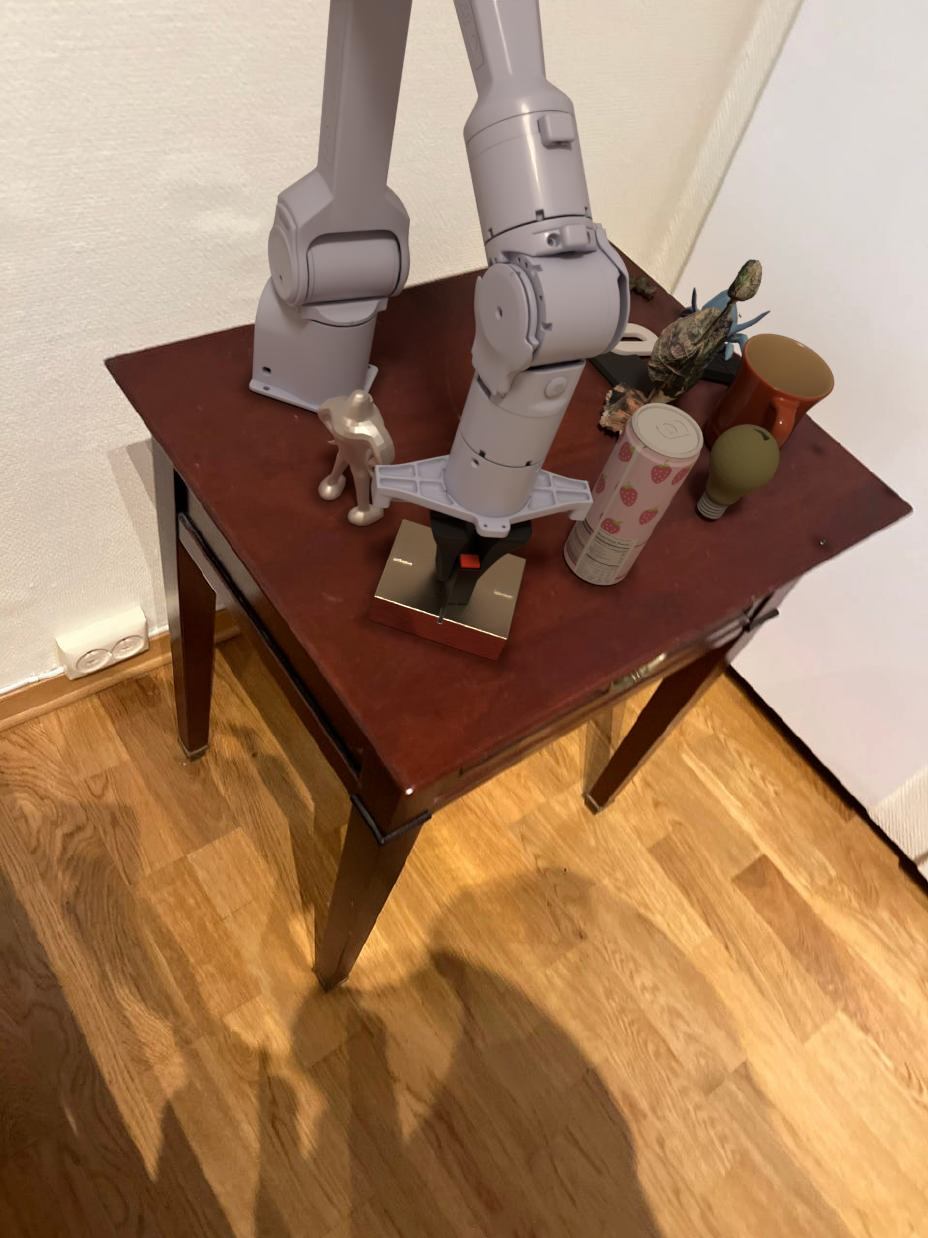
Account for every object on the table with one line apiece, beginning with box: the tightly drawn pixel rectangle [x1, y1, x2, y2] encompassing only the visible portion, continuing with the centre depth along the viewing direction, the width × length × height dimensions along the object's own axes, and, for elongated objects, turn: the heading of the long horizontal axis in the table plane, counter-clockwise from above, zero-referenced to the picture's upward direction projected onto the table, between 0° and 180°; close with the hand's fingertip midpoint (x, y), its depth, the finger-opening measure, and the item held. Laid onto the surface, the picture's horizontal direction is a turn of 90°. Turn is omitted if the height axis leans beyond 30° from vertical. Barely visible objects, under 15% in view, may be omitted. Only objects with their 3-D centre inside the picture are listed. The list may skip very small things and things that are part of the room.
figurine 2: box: [676, 287, 772, 385], centre depth 92 cm, size 10×12×8 cm
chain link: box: [611, 322, 659, 357], centre depth 91 cm, size 8×1×5 cm
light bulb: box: [696, 424, 780, 520], centre depth 76 cm, size 6×6×10 cm
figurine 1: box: [317, 390, 396, 527], centre depth 65 cm, size 7×4×12 cm, turn 49°
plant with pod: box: [598, 258, 763, 436], centre depth 77 cm, size 8×11×20 cm
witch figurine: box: [629, 272, 658, 299], centre depth 99 cm, size 5×12×2 cm, turn 50°
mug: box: [704, 333, 835, 453], centre depth 81 cm, size 12×9×10 cm
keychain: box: [588, 339, 675, 405], centre depth 88 cm, size 5×1×10 cm
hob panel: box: [368, 518, 527, 662], centre depth 66 cm, size 10×9×3 cm
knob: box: [444, 521, 481, 604], centre depth 63 cm, size 5×2×4 cm, turn 7°
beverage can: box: [563, 403, 704, 586], centre depth 67 cm, size 6×6×15 cm
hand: (455, 570), depth 64 cm, fingers closed on knob, 2 cm apart
